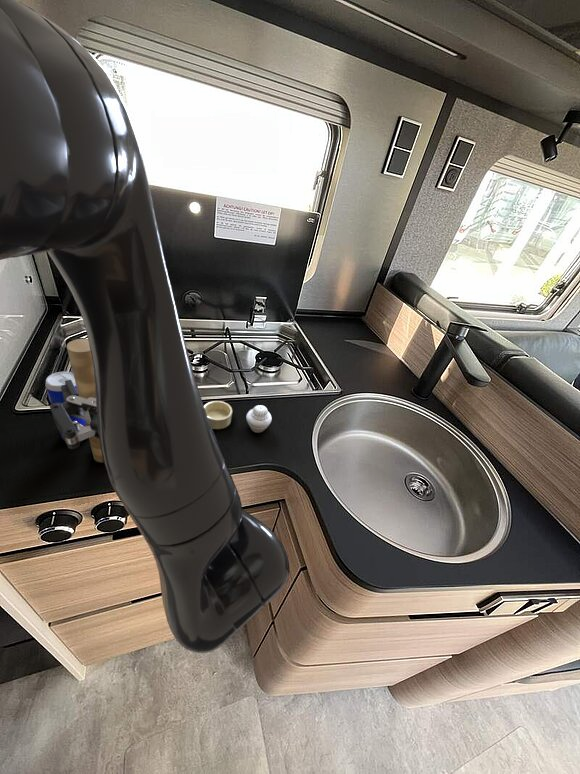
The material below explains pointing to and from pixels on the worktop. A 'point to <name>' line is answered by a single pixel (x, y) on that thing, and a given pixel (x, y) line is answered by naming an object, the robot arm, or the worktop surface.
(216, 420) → the socket
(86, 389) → the post
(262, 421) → the white lidded jar
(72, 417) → the beverage can
